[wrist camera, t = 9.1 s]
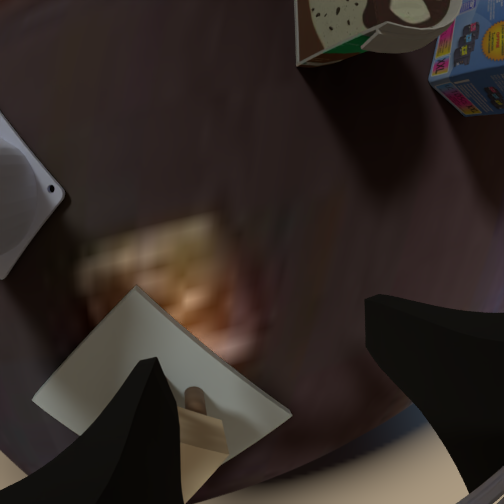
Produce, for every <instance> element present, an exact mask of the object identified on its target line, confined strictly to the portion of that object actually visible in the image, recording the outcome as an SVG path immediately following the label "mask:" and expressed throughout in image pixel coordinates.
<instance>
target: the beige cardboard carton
mask: <svg viewBox="0 0 504 504" xmlns="http://www.w3.org/2000/svg"><path fill="white" fill-rule="evenodd" d="M165 377H166V376H165ZM166 379H167V377H166ZM167 382H168V380H167ZM184 398H185V409H184V408H181V407H178V406H177V409H178V416H179V423H180V453H181V485H182V494H183V500H184V504H185V503H186V502H187V501H188V500H189V499H190V498H191V497H192V496H193V495H194V494H195V493H196V492H197V491H198V490H199V488H200V487H201V486H202V485H203V484H204V483H205V482H206V481H207V480H208V479H209V477H210V476H211V475H212V474H213V473H214V472H215V471H216V470H217V468H218V467H219V466H220V465H221V464H222V463H223V462H224V460H225V459H226V458H227V457H228V456H229V450H228V446H227V442H226V437H225V432H224V428H223V423H222V420H220V419H216V418H213V417H210V416H207V412H206V405H205V399H204V392H203V390H202V389H201V388H199V387H195V386H193V387H189V388H187V389H186V390H185V392H184Z"/></svg>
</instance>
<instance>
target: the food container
mask: <svg viewBox="0 0 504 504" xmlns="http://www.w3.org/2000/svg"><path fill="white" fill-rule="evenodd" d="M461 6H462V0H294V9H295V37H296V67H308V68H314V67H319V66H324V65H329V64H334V63H336V62H339V61H341V60H344V59H347V58H349V57H352V56H355V55H358V54H361V53H363V52H366V51H373V52H378V53H404V52H411V51H414V50H417V49H420V48H422V47H424V46H426V45H427V44H428V43H430V42H431V41H433V40H434V39H435V38H437V37H438V36H439V35H441V34H442V33H443V32H445V31H446V30H447V29H448V28H449V27H450V25H451V24H452V23H453V21H454V19H455V18H456V17H457V15H458V14H459V12H460V9H461Z"/></svg>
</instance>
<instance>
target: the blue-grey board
mask: <svg viewBox="0 0 504 504" xmlns="http://www.w3.org/2000/svg"><path fill="white" fill-rule="evenodd" d="M153 357H157V358H158V360H159V363H160V365H161V367H162V370H163V372H164V375H165V376H166V377H167V380H168V384H169V386H170V389H171V391H172V393H173V396H174V398H175V400H176V402H177V406H178V407H181V408H184V409H185V398H184V392H185V390H186V389H187V388H189V387H193V386H195V387H199V388H201V389H202V390H203V392H204V399H205V405H206V412H207V416H210V417H213V418H216V419H220V420H222V423H223V428H224V432H225V437H226V442H227V446H228V450H229V456H228V457H227V458H226V459H225V460H224V462H223V463H225V462H226V461H228V460H230V459H231V458H233V457H234V456H236V455H237V454H239V453H240V452H242V451H244V450H245V449H247V448H248V447H250V446H251V445H253V444H254V443H255V442H257V441H258V440H260V439H261V438H263V437H264V436H266V435H267V434H268V433H270V432H271V431H273V430H274V429H275V428H277V427H278V426H280V425H281V424H282V423H284V422H285V421H286V420H288V419H289V418H290V417H292V414H291V412H290V410H289V409H288V408H286V407H285V406H283V405H282V404H281V403H279V402H278V401H276V400H275V399H274V398H272V397H271V396H269V395H268V394H267V393H265V392H264V391H263V390H261V389H260V388H259V387H257V386H256V385H255V384H253V383H252V382H251V381H249V380H248V379H247V378H245V377H244V376H243V375H242V374H240V373H239V372H238V371H236V370H235V369H234V368H233V367H231V366H230V365H229V364H227V363H226V362H225V361H224V360H222V359H221V358H220V357H219V356H218V355H216V354H215V353H214V352H213V351H211V350H210V349H209V348H208V347H206V346H205V345H204V344H203V343H202V342H200V341H199V340H198V339H197V338H196V337H195V336H193V335H192V334H191V333H190V332H189V331H187V330H186V329H185V328H184V327H183V326H182V325H181V324H179V323H178V322H177V321H176V320H175V319H174V318H173V317H171V316H170V315H169V314H168V313H167V312H166V311H165V310H164V309H162V308H161V307H160V306H159V305H158V304H157V303H156V302H155V301H154V300H152V299H151V298H150V297H149V296H148V295H147V294H146V293H145V292H144V291H143V290H142V289H141V288H140V287H138V286H137V285H136V286H135V287H134V288H133V289H132V290H131V291H130V292H129V293H128V294H127V295H126V296H125V297H124V298H123V299H122V300H121V301H120V302H119V303H118V304H117V305H116V306H115V307H114V308H113V309H112V310H111V311H110V312H109V313H108V314H107V315H106V316H105V318H104V319H103V320H102V321H101V322H100V323H99V324H98V325H97V326H96V327H95V328H94V329H93V330H92V331H91V332H90V333H89V335H88V336H87V337H86V338H85V339H84V340H83V341H82V342H81V343H80V344H79V345H78V346H77V348H76V349H75V350H74V351H73V352H72V353H71V354H70V355H69V356H68V357H67V359H66V360H65V361H64V362H63V363H62V364H61V365H60V366H59V367H58V369H57V370H56V371H55V372H54V373H53V374H52V375H51V377H50V378H49V379H48V380H47V381H46V382H45V383H44V385H43V386H42V387H41V388H40V389H39V390H38V392H37V393H36V394H35V395H34V397H33V399H32V401H33V402H34V403H36V404H37V405H38V406H40V407H41V408H42V409H43V410H45V411H46V412H47V413H49V414H50V415H51V416H53V417H54V418H55V419H57V420H58V421H59V422H61V423H62V424H64V425H65V426H66V427H68V428H69V429H71V430H72V431H74V432H75V433H77V434H78V435H80V436H81V435H82V434H83V433H84V432H85V431H86V430H87V429H88V427H89V426H90V425H91V424H92V423H93V422H94V421H95V420H96V419H97V417H98V416H99V415H100V414H101V412H102V411H103V410H104V408H105V407H106V406H107V405H108V403H109V402H110V401H111V400H112V398H113V397H114V396H115V394H116V393H117V391H118V390H119V389H120V387H121V386H122V384H123V383H124V382H125V380H126V379H127V377H128V376H129V374H130V373H131V371H132V370H133V369H134V367H135V366H136V364H137V363H138V362H139V361H140V360H143V359H148V358H153ZM223 463H222V464H223ZM222 464H221V465H222Z"/></svg>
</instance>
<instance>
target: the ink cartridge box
mask: <svg viewBox="0 0 504 504" xmlns="http://www.w3.org/2000/svg"><path fill="white" fill-rule="evenodd" d="M428 81H429V83H430V85H431V86H432V87H433V88H434V89H435V90H436V91H438V92H439V93H440V94H441V95H442V96H443V97H444V98H445V99H446V100H447V101H449V102H450V103H451V104H452V105H453V106H454V107H455V108H456V109H457V110H458V111H459V112H460V113H461V114H462V115H463V116H465V117H469V116H479V115H491V114H504V0H462V6H461V9H460V12H459V14H458V15H457V17H456V18H455V19H454V21H453V23H452V24H451V25H450V27H449V28H448V29H447V30H446V31H445V32H443V33H442V34H441V35H439V36H438V39H437V44H436V48H435V53H434V57H433V62H432V65H431V70H430V74H429V79H428Z"/></svg>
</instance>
